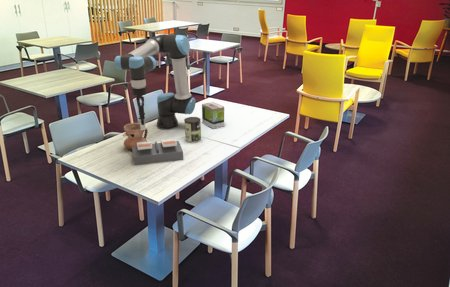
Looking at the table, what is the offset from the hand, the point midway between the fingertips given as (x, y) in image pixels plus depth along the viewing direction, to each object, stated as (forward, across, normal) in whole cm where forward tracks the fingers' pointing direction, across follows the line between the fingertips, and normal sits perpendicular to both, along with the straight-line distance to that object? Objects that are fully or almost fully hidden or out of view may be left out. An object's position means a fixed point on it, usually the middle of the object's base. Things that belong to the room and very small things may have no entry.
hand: (142, 128), depth 203 cm
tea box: (+21, -47, +51) cm, 72 cm away
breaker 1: (+13, -5, 0) cm, 14 cm away
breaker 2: (+13, -5, +14) cm, 20 cm away
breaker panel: (+21, -5, +7) cm, 22 cm away
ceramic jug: (+21, -22, -4) cm, 31 cm away
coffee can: (+21, -24, +32) cm, 45 cm away
